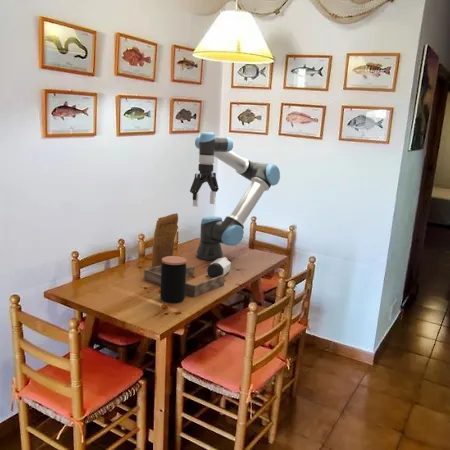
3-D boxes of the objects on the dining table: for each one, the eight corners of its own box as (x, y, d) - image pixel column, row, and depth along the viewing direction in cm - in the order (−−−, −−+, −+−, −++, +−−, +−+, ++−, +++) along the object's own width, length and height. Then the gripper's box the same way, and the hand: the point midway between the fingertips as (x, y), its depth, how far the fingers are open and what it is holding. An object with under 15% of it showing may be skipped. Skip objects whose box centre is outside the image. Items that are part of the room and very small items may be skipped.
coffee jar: (189, 299, 203) (191, 260, 199) (171, 305, 195) (173, 264, 191) (173, 292, 210) (175, 254, 206) (155, 298, 202) (156, 258, 198)
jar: (229, 274, 243) (220, 282, 232) (215, 270, 245) (206, 277, 235) (232, 258, 240) (222, 266, 229) (217, 254, 243) (208, 261, 232)
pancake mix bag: (180, 264, 253) (182, 213, 247) (155, 271, 238) (157, 218, 232) (171, 261, 257) (173, 211, 251) (146, 268, 242) (147, 215, 236)
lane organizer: (175, 270, 242) (176, 260, 241) (224, 285, 224) (224, 275, 223) (143, 279, 224) (144, 269, 223) (193, 297, 206) (194, 286, 205)
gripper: (215, 162, 245) (213, 201, 250) (183, 163, 226) (182, 206, 230) (226, 163, 241) (224, 203, 246) (195, 165, 221) (193, 208, 226)
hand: (203, 205), depth 238 cm, fingers open, 13 cm apart
